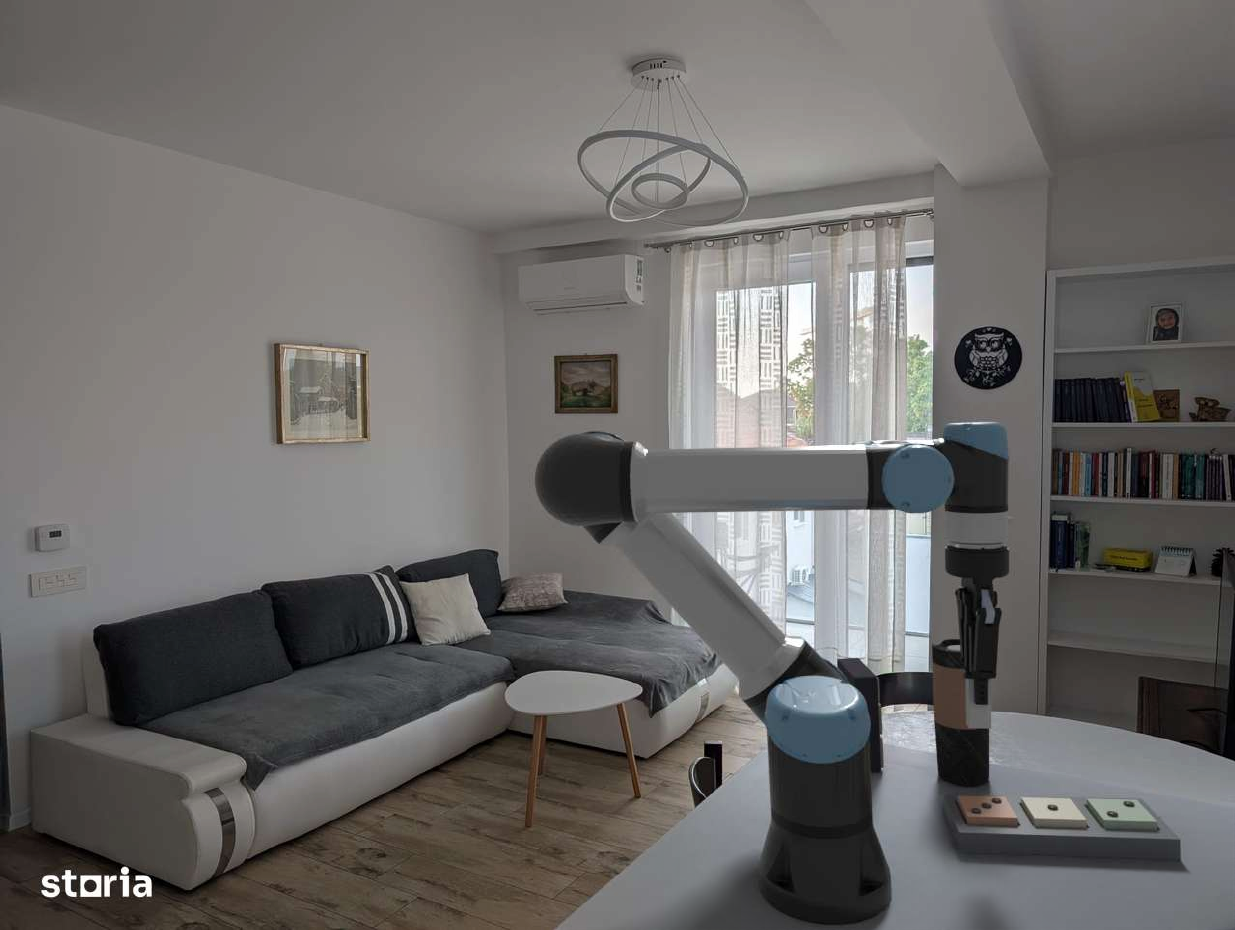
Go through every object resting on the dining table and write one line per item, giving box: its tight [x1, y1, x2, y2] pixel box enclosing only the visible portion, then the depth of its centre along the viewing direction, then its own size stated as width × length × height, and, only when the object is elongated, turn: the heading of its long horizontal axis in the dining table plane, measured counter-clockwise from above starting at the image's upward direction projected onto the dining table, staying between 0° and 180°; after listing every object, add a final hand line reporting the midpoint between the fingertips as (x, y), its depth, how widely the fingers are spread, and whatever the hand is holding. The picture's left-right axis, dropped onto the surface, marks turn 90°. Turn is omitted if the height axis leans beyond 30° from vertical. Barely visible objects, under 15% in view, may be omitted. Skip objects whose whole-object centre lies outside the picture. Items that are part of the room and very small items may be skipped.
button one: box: [1021, 797, 1087, 828], centre depth 109 cm, size 6×6×3 cm
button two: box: [1087, 798, 1157, 830], centre depth 108 cm, size 6×6×3 cm
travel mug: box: [931, 638, 990, 788], centre depth 127 cm, size 8×8×20 cm
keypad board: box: [941, 793, 1182, 861], centre depth 109 cm, size 25×11×2 cm, turn 79°
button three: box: [957, 796, 1018, 826], centre depth 111 cm, size 6×6×3 cm
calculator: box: [836, 657, 885, 773], centre depth 136 cm, size 11×4×15 cm, turn 179°
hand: (978, 726), depth 109 cm, fingers closed
